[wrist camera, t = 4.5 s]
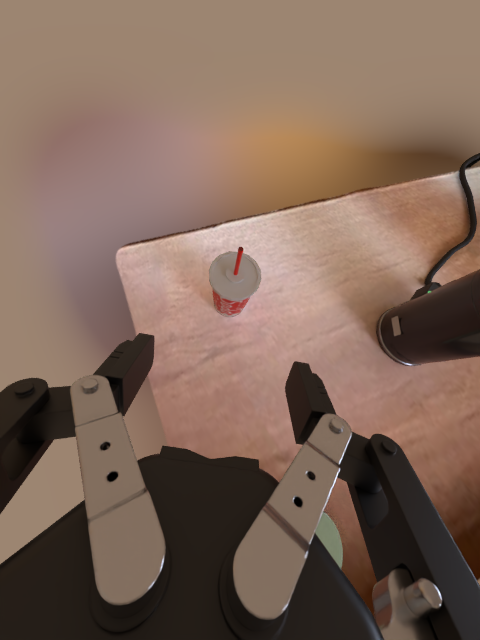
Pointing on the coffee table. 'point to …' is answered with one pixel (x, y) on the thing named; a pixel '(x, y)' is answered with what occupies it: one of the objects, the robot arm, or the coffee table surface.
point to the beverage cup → (233, 281)
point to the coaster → (330, 538)
